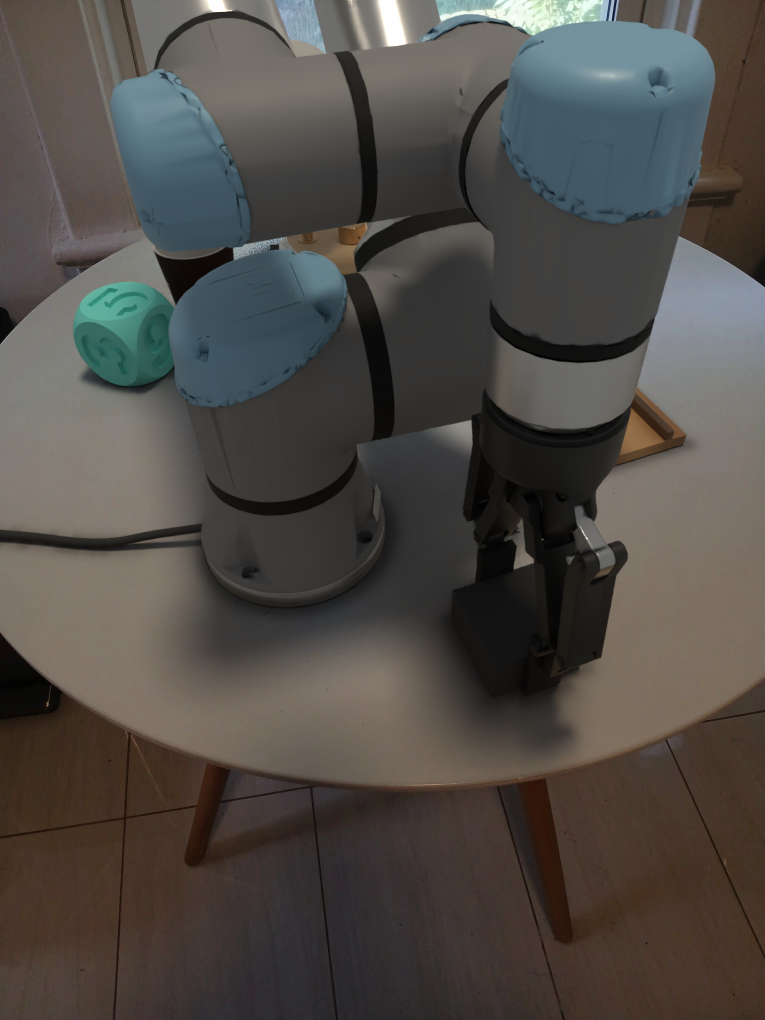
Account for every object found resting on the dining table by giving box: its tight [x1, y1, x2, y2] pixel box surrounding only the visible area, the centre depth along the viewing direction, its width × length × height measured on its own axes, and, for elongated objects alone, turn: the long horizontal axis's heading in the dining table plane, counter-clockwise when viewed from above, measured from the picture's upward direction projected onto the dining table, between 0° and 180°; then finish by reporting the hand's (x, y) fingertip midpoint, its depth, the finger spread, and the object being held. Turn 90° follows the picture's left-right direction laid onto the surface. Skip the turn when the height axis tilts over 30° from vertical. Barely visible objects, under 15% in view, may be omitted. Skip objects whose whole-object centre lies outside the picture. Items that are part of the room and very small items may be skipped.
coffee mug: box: [151, 243, 235, 306], centre depth 84 cm, size 12×9×10 cm
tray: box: [615, 387, 687, 466], centre depth 73 cm, size 14×20×2 cm
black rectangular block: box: [450, 562, 539, 699], centre depth 53 cm, size 7×7×4 cm
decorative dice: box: [72, 281, 175, 387], centre depth 78 cm, size 8×8×8 cm
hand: (514, 641), depth 54 cm, fingers closed on black rectangular block, 7 cm apart
